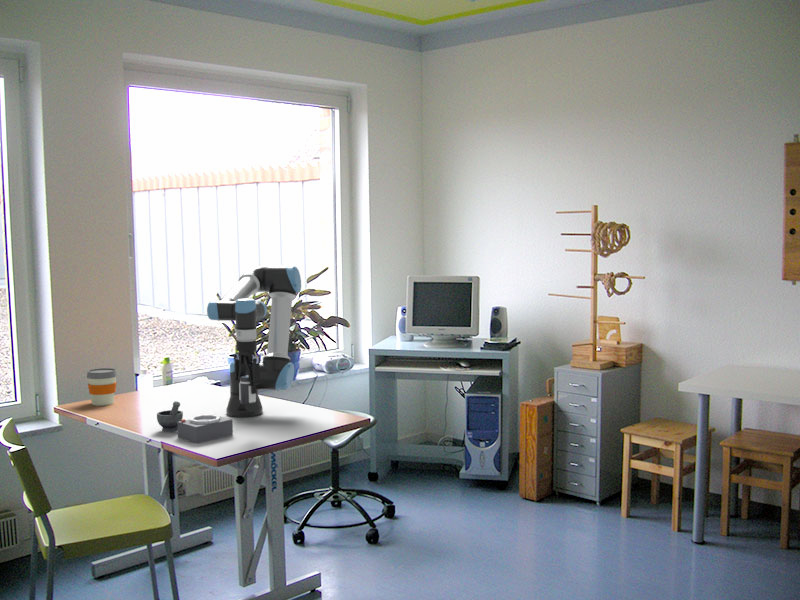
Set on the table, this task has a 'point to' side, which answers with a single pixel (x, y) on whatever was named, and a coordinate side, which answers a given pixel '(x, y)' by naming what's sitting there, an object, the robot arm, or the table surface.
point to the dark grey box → (204, 428)
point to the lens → (244, 389)
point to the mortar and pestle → (170, 418)
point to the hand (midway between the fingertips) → (247, 400)
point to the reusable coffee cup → (102, 385)
